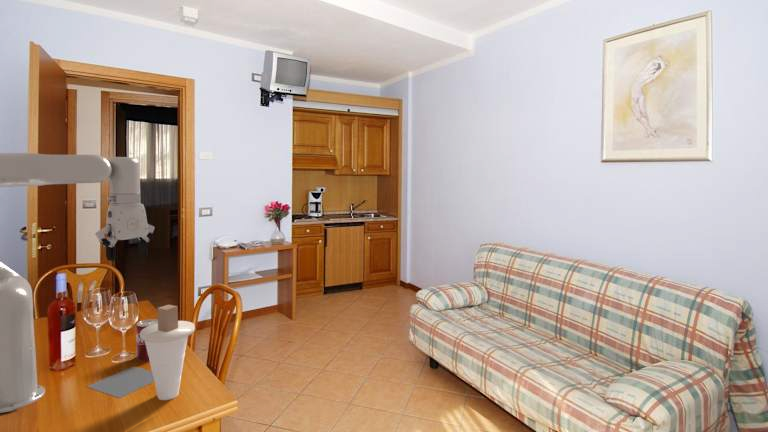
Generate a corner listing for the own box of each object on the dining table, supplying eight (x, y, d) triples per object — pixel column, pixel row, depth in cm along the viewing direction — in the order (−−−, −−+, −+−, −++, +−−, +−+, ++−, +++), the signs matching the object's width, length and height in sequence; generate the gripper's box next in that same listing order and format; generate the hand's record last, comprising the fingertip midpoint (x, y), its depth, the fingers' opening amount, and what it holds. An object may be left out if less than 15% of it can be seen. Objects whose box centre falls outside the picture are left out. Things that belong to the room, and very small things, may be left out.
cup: (183, 383, 122) (182, 323, 120) (195, 398, 114) (193, 334, 112) (142, 395, 115) (139, 331, 113) (151, 412, 107) (148, 344, 105)
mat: (119, 400, 112) (119, 398, 112) (86, 388, 118) (86, 386, 118) (165, 377, 125) (165, 375, 125) (133, 368, 130) (133, 366, 130)
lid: (164, 345, 104) (163, 318, 103) (128, 336, 109) (127, 310, 109) (205, 328, 116) (205, 304, 115) (171, 321, 121) (171, 297, 121)
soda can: (151, 364, 133) (150, 327, 132) (131, 361, 135) (130, 325, 134) (167, 354, 140) (166, 319, 139) (148, 352, 142) (147, 317, 141)
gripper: (104, 201, 113) (106, 264, 115) (161, 199, 129) (162, 254, 131) (86, 200, 116) (89, 261, 118) (144, 198, 132) (145, 251, 134)
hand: (127, 257), depth 124 cm, fingers open, 9 cm apart
